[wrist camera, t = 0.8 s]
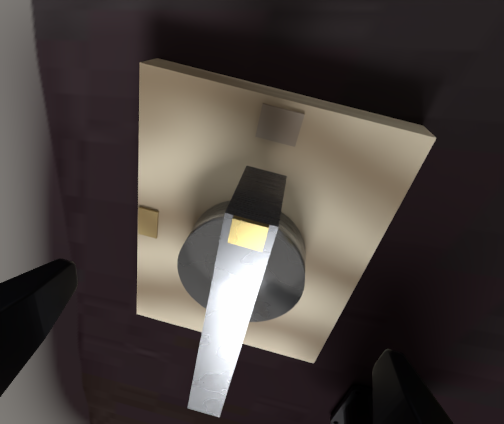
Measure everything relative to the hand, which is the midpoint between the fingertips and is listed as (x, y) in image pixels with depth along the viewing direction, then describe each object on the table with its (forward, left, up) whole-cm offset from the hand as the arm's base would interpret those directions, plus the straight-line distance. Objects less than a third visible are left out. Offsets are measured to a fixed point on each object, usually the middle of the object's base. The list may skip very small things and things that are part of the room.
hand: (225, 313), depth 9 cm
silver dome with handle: (-5, 0, -9) cm, 10 cm away
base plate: (-5, 0, -11) cm, 12 cm away
